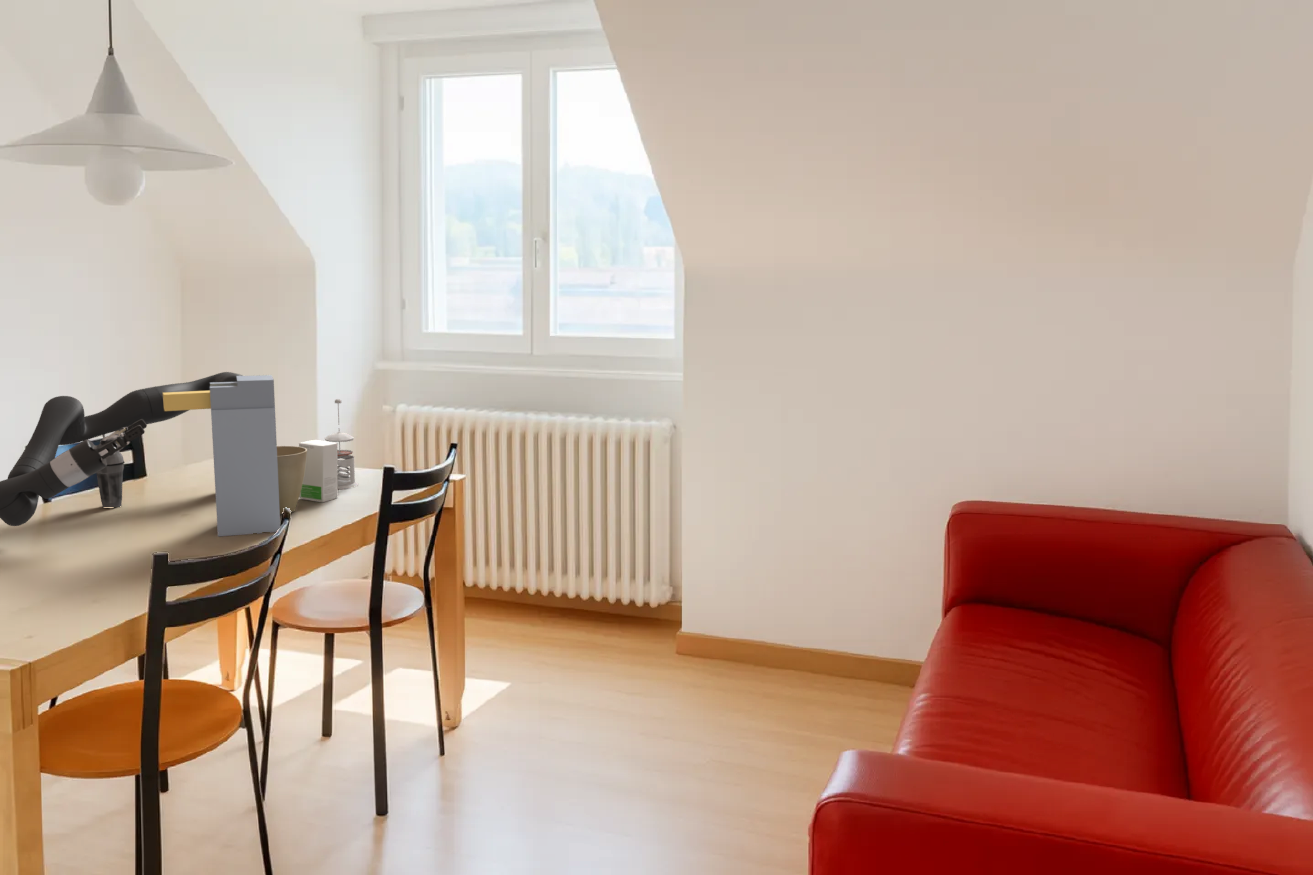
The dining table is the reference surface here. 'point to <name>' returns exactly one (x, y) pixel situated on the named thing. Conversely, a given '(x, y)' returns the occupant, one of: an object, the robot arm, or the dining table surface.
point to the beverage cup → (111, 480)
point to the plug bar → (186, 400)
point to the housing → (245, 455)
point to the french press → (343, 479)
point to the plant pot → (290, 475)
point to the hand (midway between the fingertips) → (143, 425)
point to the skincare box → (320, 471)
